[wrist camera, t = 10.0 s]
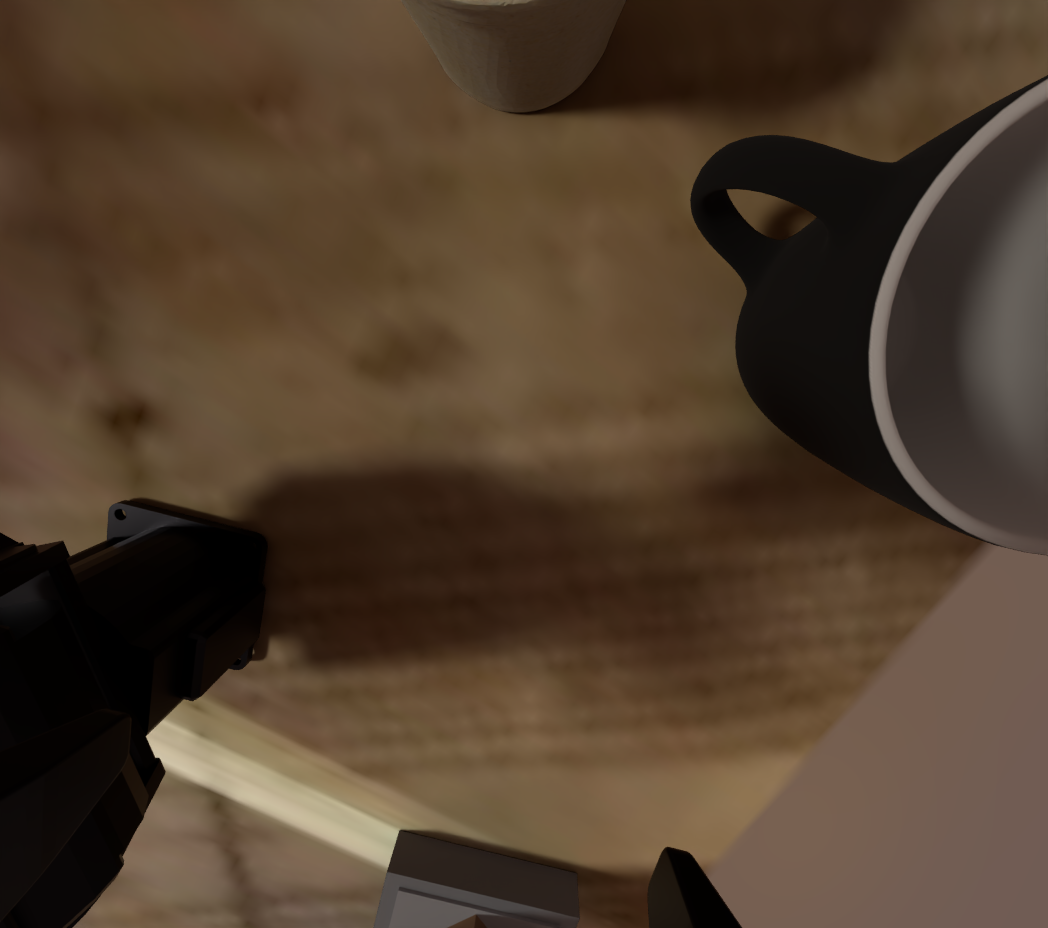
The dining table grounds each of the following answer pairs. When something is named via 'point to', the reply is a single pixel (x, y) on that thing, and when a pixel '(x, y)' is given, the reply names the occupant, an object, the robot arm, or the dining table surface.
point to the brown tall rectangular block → (469, 923)
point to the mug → (905, 312)
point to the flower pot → (517, 46)
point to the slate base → (472, 888)
